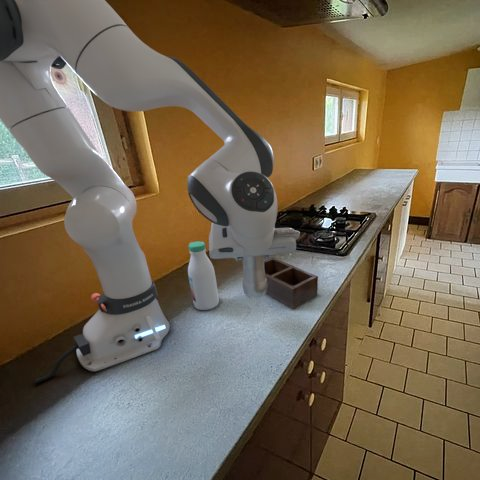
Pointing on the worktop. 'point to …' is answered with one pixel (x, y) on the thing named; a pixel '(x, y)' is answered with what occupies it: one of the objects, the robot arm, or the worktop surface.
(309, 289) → the bottle rack
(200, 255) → the milk bottle
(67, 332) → the worktop surface
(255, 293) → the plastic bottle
